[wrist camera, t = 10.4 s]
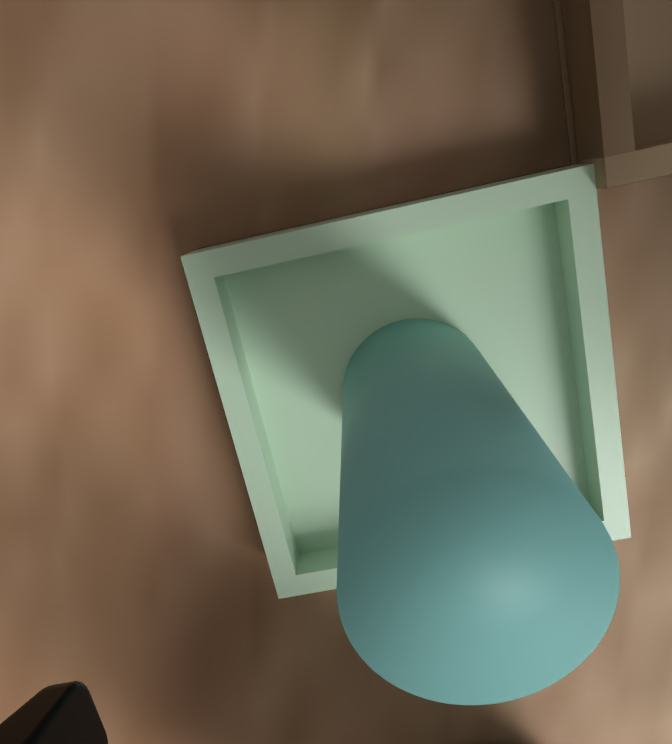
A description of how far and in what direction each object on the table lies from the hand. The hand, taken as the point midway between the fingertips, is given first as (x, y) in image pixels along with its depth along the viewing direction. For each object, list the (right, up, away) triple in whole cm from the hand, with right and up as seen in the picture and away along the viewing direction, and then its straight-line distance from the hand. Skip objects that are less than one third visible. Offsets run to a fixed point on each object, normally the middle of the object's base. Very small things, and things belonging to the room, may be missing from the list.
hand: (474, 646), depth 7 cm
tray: (0, +3, +9) cm, 10 cm away
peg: (0, +3, +9) cm, 9 cm away
